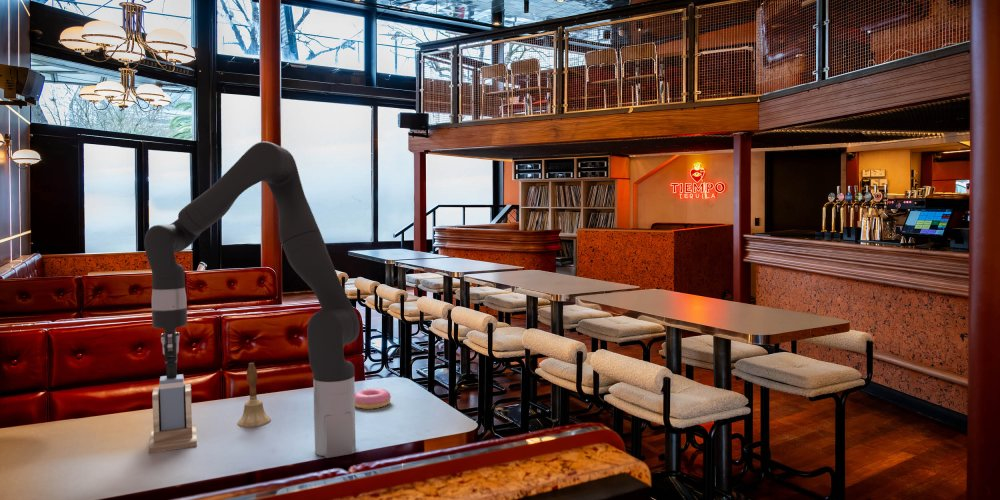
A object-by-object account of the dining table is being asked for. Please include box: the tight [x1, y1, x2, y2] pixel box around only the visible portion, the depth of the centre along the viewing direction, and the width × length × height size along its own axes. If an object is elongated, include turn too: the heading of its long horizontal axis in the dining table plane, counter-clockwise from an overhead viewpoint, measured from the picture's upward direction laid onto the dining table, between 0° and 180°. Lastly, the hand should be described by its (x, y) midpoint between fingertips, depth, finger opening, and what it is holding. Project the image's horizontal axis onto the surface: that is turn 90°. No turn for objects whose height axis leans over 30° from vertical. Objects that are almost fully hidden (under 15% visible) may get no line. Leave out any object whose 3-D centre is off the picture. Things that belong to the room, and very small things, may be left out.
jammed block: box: [159, 373, 185, 431], centre depth 156 cm, size 5×5×14 cm
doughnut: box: [355, 387, 392, 410], centre depth 185 cm, size 11×11×4 cm
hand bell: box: [237, 362, 271, 428], centre depth 170 cm, size 8×8×16 cm
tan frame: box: [148, 383, 198, 454], centre depth 156 cm, size 14×10×13 cm
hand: (171, 377), depth 155 cm, fingers closed
